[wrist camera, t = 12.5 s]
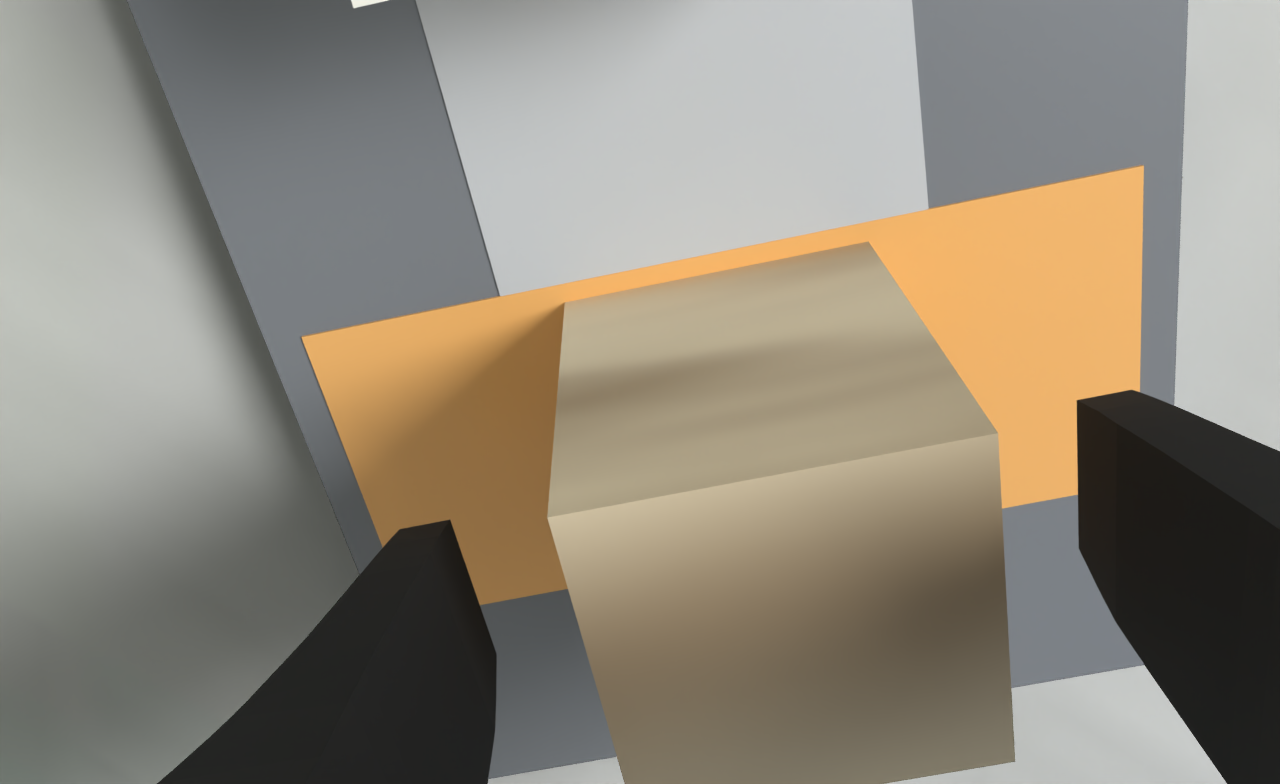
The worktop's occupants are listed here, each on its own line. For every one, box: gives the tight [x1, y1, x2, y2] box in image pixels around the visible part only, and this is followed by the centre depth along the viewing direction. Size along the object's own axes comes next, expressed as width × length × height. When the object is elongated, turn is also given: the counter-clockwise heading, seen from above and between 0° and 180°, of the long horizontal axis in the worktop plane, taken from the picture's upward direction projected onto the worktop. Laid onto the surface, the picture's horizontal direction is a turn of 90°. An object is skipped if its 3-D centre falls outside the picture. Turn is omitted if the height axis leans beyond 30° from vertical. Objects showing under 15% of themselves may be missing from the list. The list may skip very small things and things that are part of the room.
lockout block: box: [547, 241, 1015, 784], centre depth 12 cm, size 4×4×5 cm
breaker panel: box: [127, 0, 1188, 779], centre depth 14 cm, size 17×12×1 cm
